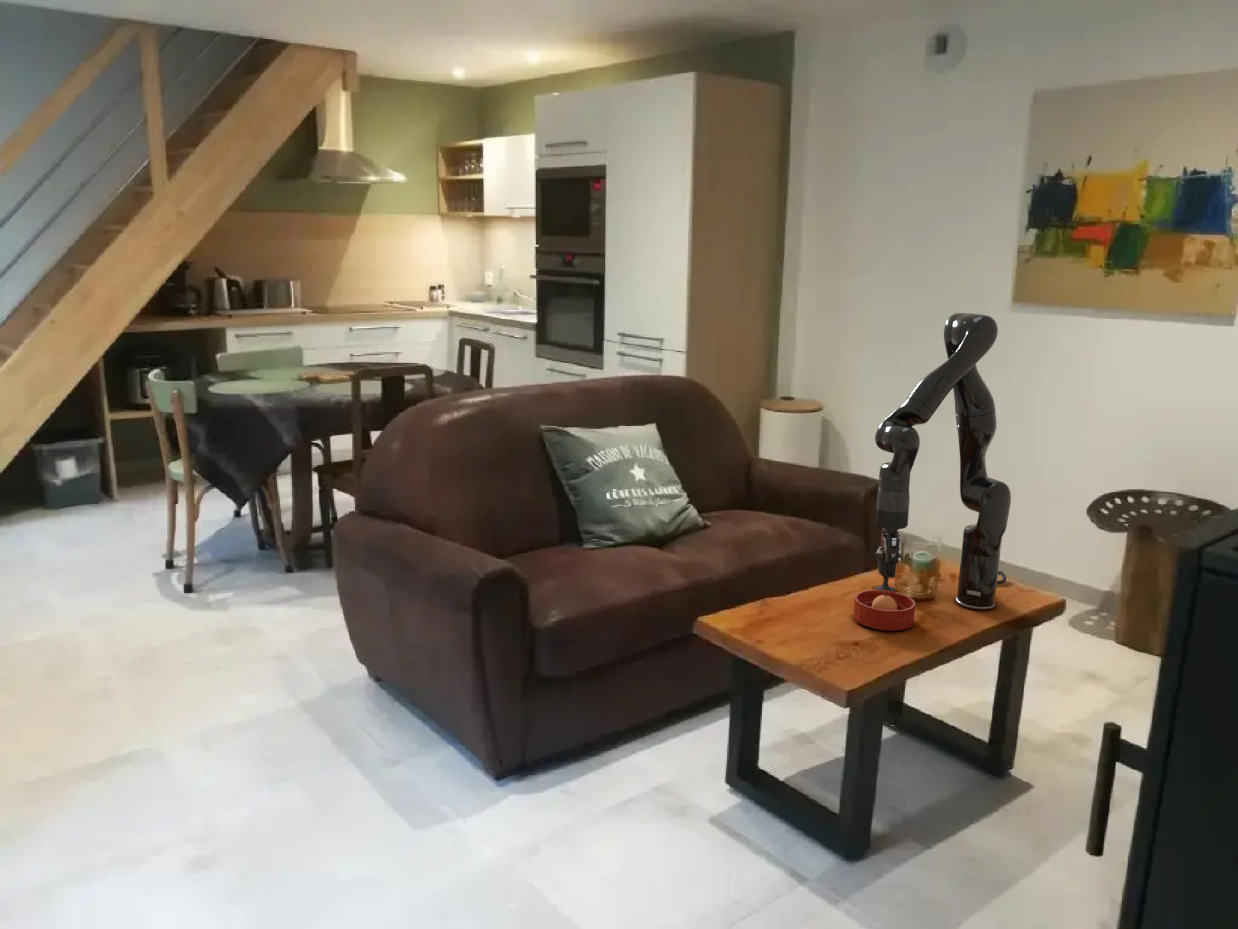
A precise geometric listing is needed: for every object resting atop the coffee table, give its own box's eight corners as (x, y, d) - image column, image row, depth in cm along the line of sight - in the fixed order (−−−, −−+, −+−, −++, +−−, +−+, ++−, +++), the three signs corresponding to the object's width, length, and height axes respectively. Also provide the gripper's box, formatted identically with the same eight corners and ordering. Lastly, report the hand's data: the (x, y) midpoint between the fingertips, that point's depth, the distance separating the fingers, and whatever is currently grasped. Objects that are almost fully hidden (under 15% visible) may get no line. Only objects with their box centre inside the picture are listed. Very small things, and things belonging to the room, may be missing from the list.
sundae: (867, 586, 261) (871, 533, 257) (889, 584, 262) (894, 531, 259) (879, 595, 255) (883, 540, 251) (902, 593, 256) (907, 539, 253)
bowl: (868, 606, 247) (870, 585, 246) (922, 620, 238) (924, 599, 237) (843, 622, 236) (844, 601, 235) (898, 637, 227) (900, 615, 226)
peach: (877, 612, 241) (879, 586, 240) (900, 618, 237) (902, 592, 236) (866, 619, 237) (868, 593, 235) (889, 625, 233) (892, 599, 231)
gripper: (912, 515, 223) (908, 582, 227) (905, 499, 237) (900, 562, 240) (879, 514, 224) (875, 580, 228) (873, 497, 238) (869, 560, 242)
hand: (888, 571), depth 234 cm, fingers open, 8 cm apart
